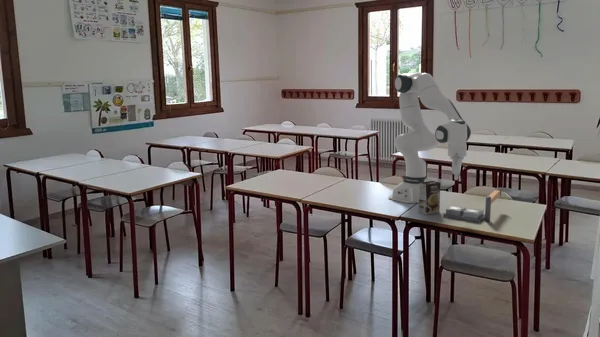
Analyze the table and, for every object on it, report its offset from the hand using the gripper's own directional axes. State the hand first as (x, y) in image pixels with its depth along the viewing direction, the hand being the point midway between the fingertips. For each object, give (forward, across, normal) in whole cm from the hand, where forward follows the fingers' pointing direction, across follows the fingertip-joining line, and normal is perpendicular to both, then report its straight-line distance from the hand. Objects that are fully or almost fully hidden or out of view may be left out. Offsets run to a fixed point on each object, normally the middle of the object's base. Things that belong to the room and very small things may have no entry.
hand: (456, 179), depth 254 cm
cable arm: (+19, +6, -18) cm, 27 cm away
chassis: (+19, -1, -5) cm, 20 cm away
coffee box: (+19, +4, +13) cm, 24 cm away
